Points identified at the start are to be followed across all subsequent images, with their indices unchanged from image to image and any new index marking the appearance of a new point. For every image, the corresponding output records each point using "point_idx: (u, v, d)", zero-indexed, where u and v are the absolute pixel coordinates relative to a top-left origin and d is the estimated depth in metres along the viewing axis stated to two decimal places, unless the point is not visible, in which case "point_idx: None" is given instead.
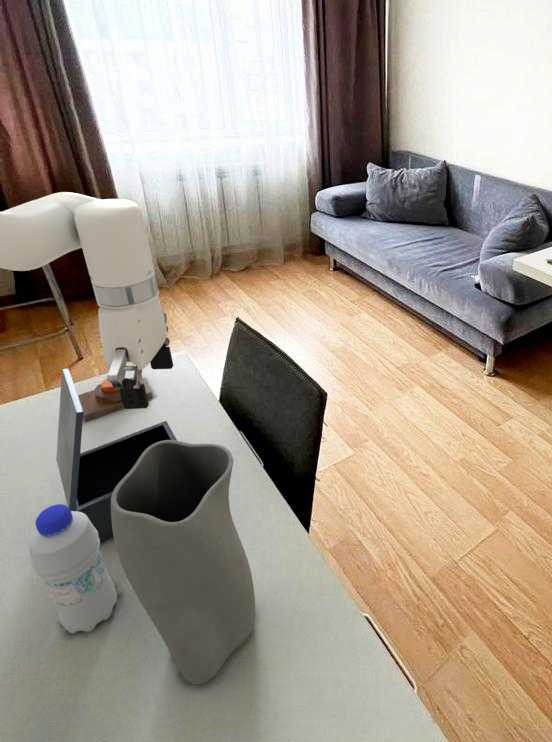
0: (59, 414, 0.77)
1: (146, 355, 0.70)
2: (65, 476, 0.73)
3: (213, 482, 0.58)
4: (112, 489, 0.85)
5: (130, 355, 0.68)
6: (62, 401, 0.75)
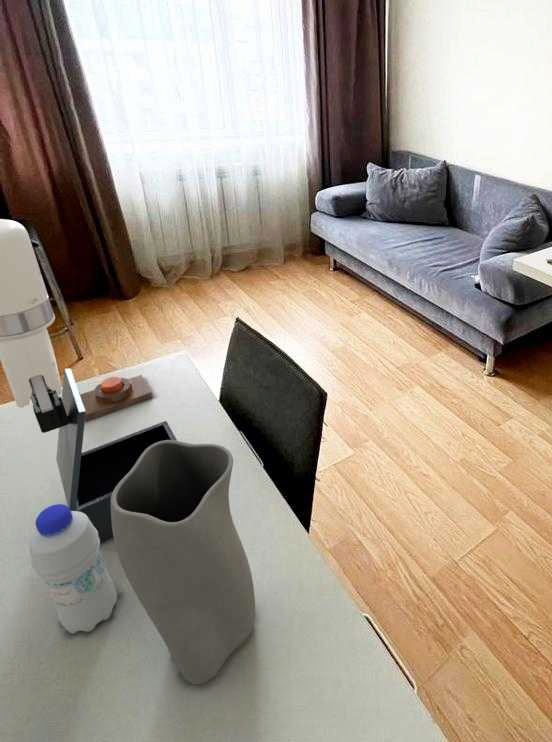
0: None
1: (59, 379, 0.66)
2: (65, 476, 0.73)
3: (213, 482, 0.58)
4: (112, 489, 0.85)
5: (47, 381, 0.64)
6: (64, 401, 0.75)
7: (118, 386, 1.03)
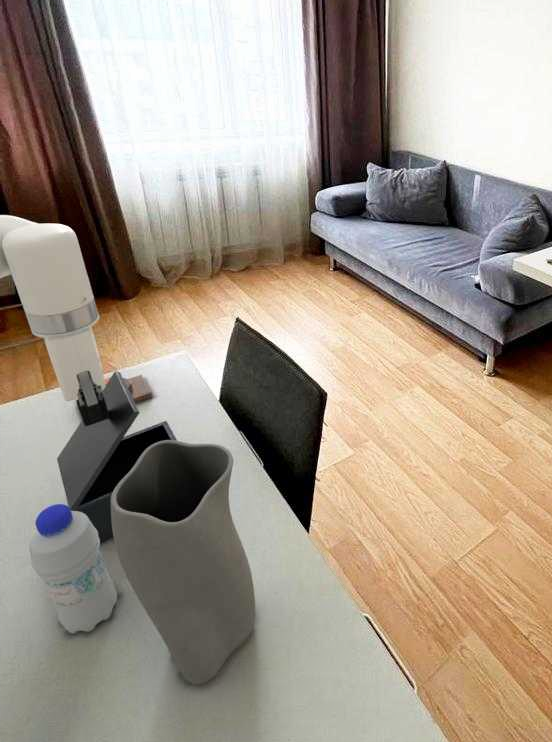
0: None
1: (103, 375, 0.70)
2: (75, 474, 0.74)
3: (213, 482, 0.58)
4: (112, 489, 0.85)
5: (93, 377, 0.68)
6: None
7: None
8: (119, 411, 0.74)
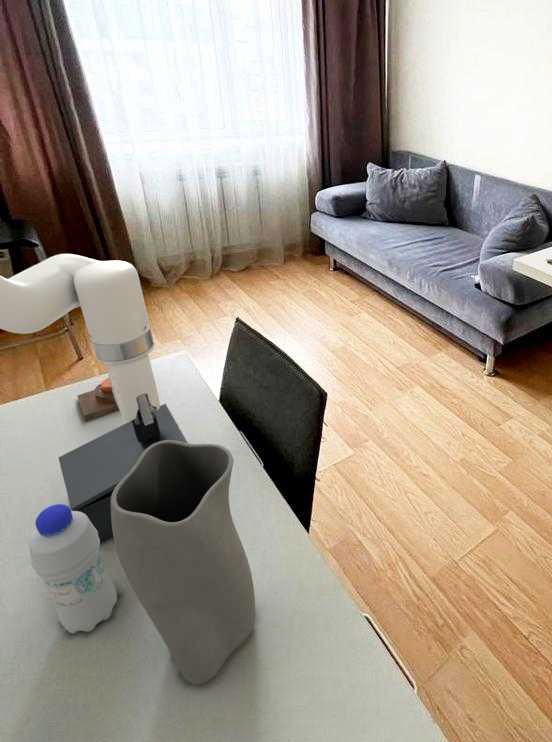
0: (117, 428, 0.83)
1: None
2: (88, 478, 0.75)
3: (213, 482, 0.58)
4: None
5: (150, 399, 0.74)
6: None
7: None
8: (166, 438, 0.81)
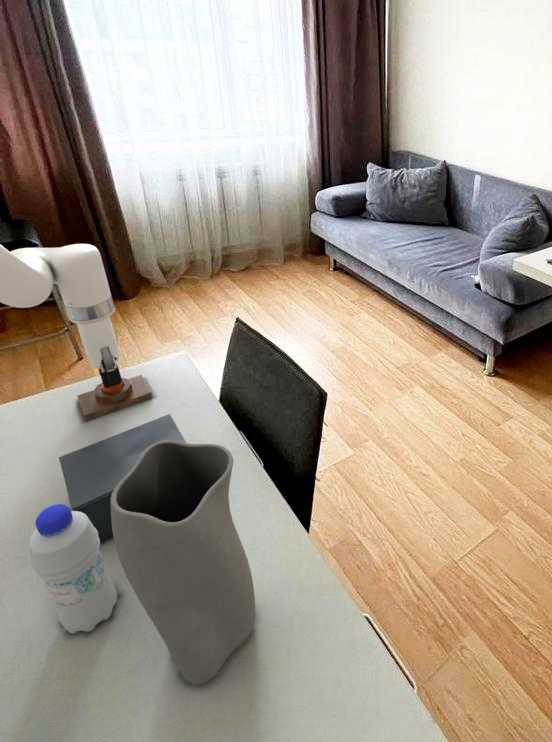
0: (120, 434, 0.84)
1: None
2: (89, 480, 0.75)
3: (213, 482, 0.58)
4: None
5: (111, 351, 0.96)
6: (145, 431, 0.85)
7: (118, 388, 1.03)
8: None
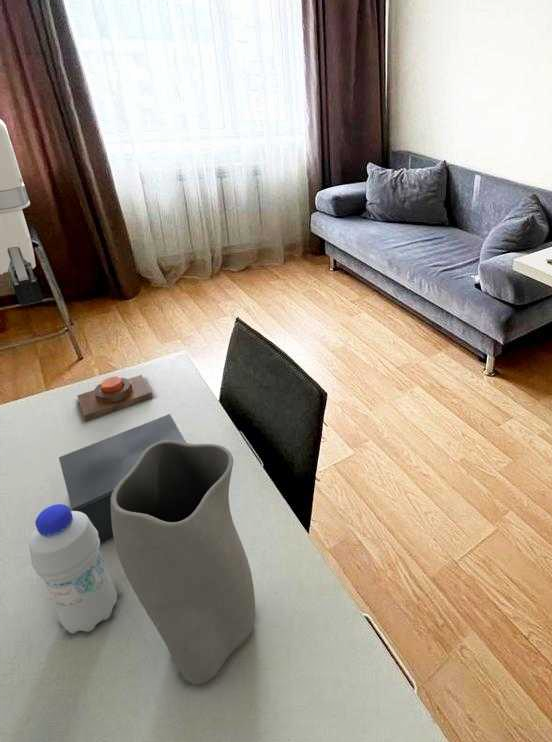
0: (120, 434, 0.84)
1: None
2: (89, 480, 0.75)
3: (213, 482, 0.58)
4: None
5: (23, 253, 0.78)
6: (145, 431, 0.85)
7: (118, 386, 1.03)
8: None
